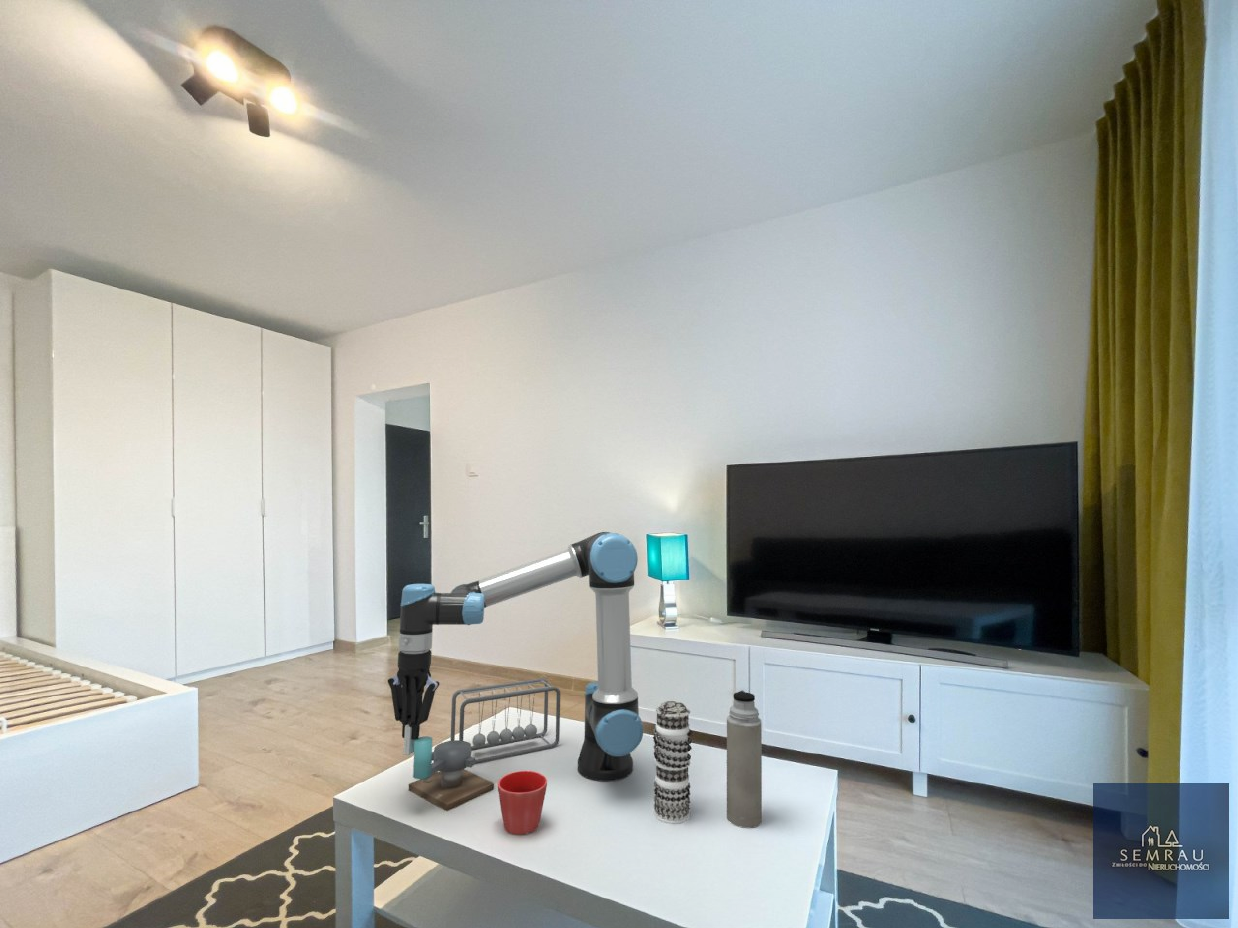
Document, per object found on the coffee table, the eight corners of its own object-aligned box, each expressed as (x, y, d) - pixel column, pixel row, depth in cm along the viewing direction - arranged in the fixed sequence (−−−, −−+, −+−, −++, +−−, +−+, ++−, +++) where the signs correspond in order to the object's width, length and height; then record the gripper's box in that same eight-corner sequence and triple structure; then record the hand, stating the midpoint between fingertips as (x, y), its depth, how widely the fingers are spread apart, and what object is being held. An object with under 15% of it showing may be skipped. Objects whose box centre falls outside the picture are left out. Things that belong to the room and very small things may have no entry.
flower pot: (536, 842, 124) (538, 794, 125) (488, 835, 126) (490, 789, 127) (552, 816, 134) (553, 773, 135) (507, 811, 136) (508, 768, 137)
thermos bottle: (729, 807, 140) (729, 687, 142) (763, 813, 137) (763, 691, 139) (724, 824, 132) (724, 697, 134) (760, 830, 129) (759, 701, 132)
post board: (494, 789, 147) (494, 764, 147) (446, 811, 136) (447, 784, 136) (455, 770, 157) (456, 747, 157) (408, 790, 146) (409, 765, 146)
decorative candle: (669, 799, 143) (670, 695, 145) (699, 814, 136) (700, 704, 138) (644, 813, 136) (645, 703, 138) (674, 829, 130) (675, 713, 132)
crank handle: (442, 753, 153) (444, 713, 154) (482, 760, 149) (483, 719, 150) (394, 784, 136) (396, 739, 136) (438, 793, 132) (439, 746, 132)
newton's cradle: (458, 767, 159) (461, 700, 160) (449, 753, 168) (451, 690, 169) (559, 747, 174) (561, 685, 175) (546, 734, 183) (547, 676, 184)
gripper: (381, 651, 137) (375, 754, 135) (429, 656, 134) (423, 762, 132) (402, 644, 144) (396, 742, 143) (447, 649, 141) (442, 750, 139)
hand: (409, 752), depth 137 cm, fingers closed
